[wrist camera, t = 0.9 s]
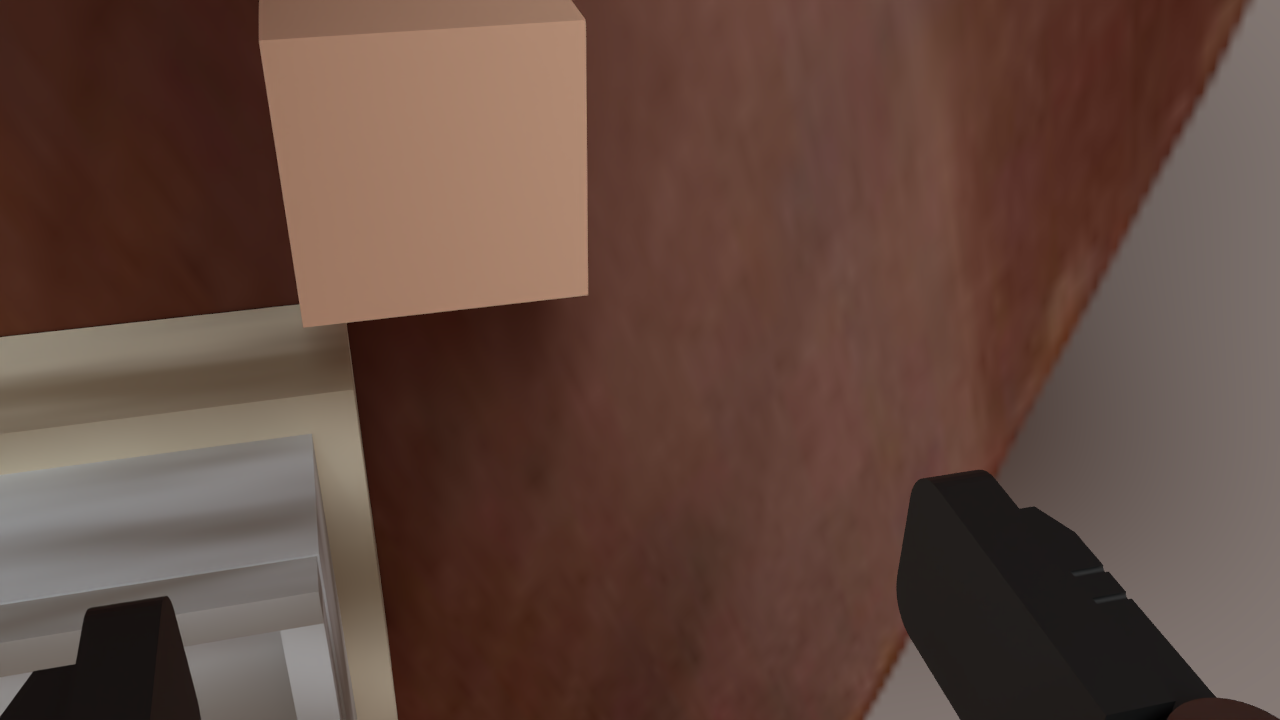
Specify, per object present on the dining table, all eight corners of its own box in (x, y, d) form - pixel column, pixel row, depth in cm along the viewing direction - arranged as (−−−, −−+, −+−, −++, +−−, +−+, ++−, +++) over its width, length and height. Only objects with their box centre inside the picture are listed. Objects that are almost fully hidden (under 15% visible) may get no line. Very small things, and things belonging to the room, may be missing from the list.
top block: (259, -51, 25) (258, 41, 20) (525, -63, 26) (585, 19, 21) (295, 195, 28) (303, 327, 23) (533, 174, 29) (588, 295, 24)
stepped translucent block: (-165, 355, 27) (-323, 645, 20) (343, 299, 29) (370, 539, 22) (-26, 700, 33) (-108, 1021, 26) (387, 629, 35) (420, 904, 28)
